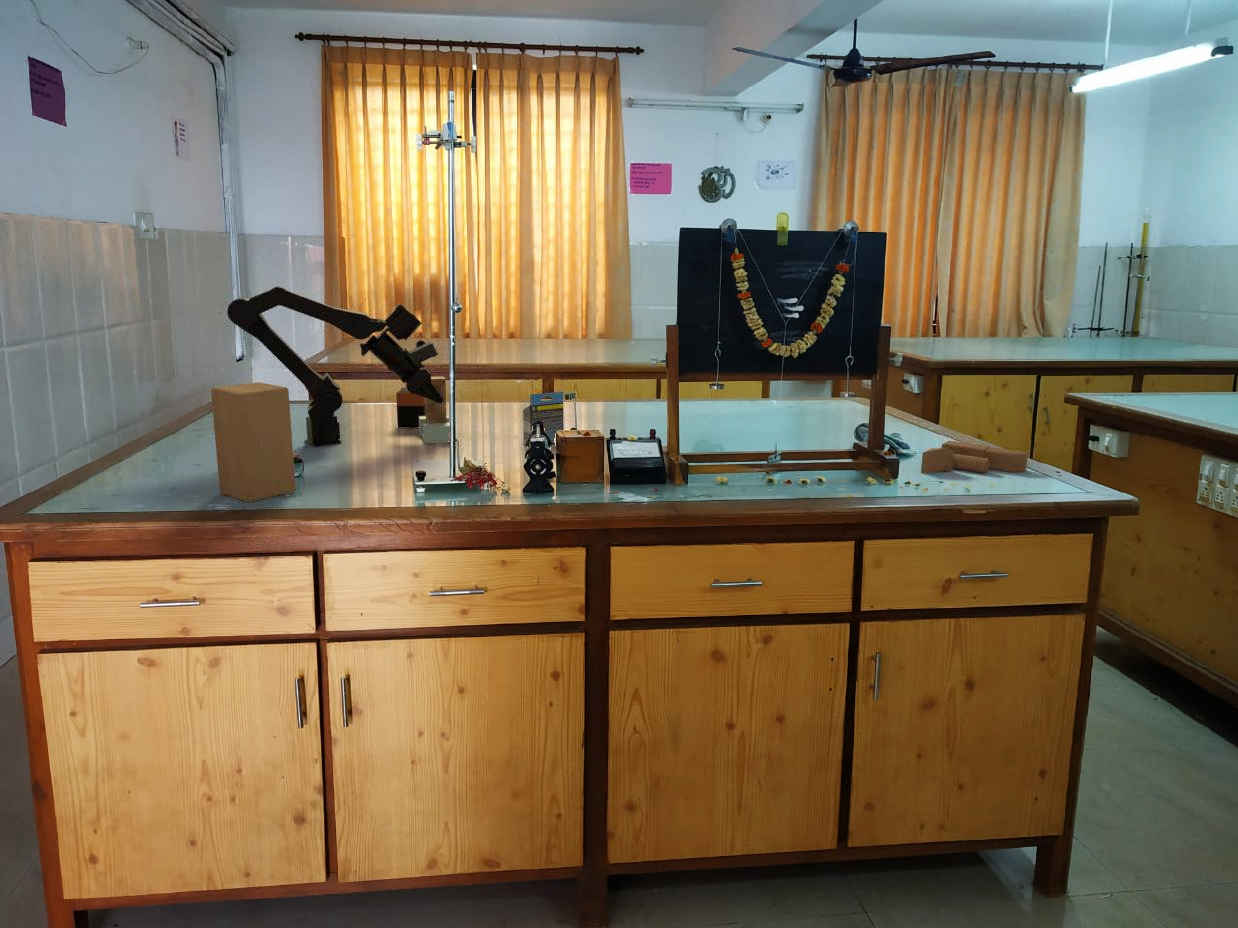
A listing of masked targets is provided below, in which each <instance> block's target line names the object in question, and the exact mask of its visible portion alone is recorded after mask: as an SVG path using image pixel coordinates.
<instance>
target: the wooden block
mask: <svg viewBox="0 0 1238 928" xmlns="http://www.w3.org/2000/svg"><path fill="white" fill-rule="evenodd" d="M210 394H211V406H212V418H213V428H214V440H215V449H216V461H217V462H216V464H217V472H218V474H217V475H218V482H219V484H218V485H219V492H220V494H221V495H224V494H225V496H227V495H228V496H227V497H230V496H231V497H230V498H233V497H234V498H233V499H236V498H237V500H239V499H240V501H242V500H243V501H242V502H245V501H246V503H251V502H250V501H253V502H256V501H255V500H258V501H261V500H260V499H262V500H266V499H265V498H267V499H270V498H269V497H271V498H274V497H273V496H276V497H278V496H277V495H280V496H283V495H282V494H285V495H287V494H286V493H289V494H291V493H290V492H294V491H295V492H296V477H295V464H294V463H295V462H294V449H293V433H292V420H291V407H290V396H289V395H290V393H289V388H288V387H284V386H280V385H275V384H269V383H265V382H260V381H259V382H248V383H242V384H235V385H234V384H233V385H225V386H217V387H212V388H211V389H210ZM295 492H294V493H295Z"/></svg>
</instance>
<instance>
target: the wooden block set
mask: <svg viewBox="0 0 1238 928" xmlns="http://www.w3.org/2000/svg"><path fill="white" fill-rule="evenodd" d="M921 456H922V457H921V467H920V474H930V473H931V474H933V473H949V472H950V473H952V472H953V469H954V470H958V471H959V470H960V471H967V472H971V473H972V472H973V473H979V474H980V473H981V474H988V472H989V470H993V471H998V472H1006V473H1023V472H1025V471H1026V470H1027V468H1028V457H1029V453H1028V452H1026V451H1020V450H1015V449H1013V450H1012V449H1007V448H998V447H991V446H989V445H983V444H977V443H969V442H963V441H955V440H948V441H945V442H942V444H941V447H937V448H936V447H933V448H932V447H931V448H929V449H927V450H925V451H923V452H922V454H921Z"/></svg>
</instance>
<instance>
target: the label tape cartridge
mask: <svg viewBox="0 0 1238 928" xmlns="http://www.w3.org/2000/svg"><path fill="white" fill-rule="evenodd" d="M529 397H530V398H529V400H530V402H529V405H528V406H526V407H525V408H523V411H522V415H523V416H522V417H523V418H522V419H523V421H522V423H523V426H522V427H523V429H522V430H523V445H525V443H526V442H527V440H528V438H529V437H530V435H531V430H532V426H533V422H534V421H536V420H540V421H542V422H543V423H544V428H545V432H546V434H547V435H548V437H549V438H550V440H551V441H552V443H554V438H555V433H556V431H558V430H564V431H565V428H564V427H565V426H564V424H565V423H564V391H556V392H544V393H543V392H542V393H531V394H530V395H529ZM546 398H548V400H542V399H546ZM549 398H551V399H549Z"/></svg>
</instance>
